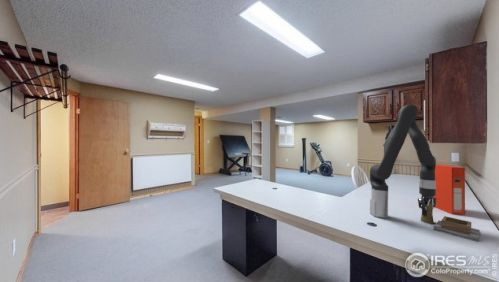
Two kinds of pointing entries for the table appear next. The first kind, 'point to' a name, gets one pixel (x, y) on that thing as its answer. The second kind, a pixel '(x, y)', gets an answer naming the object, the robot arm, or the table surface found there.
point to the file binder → (450, 189)
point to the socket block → (457, 228)
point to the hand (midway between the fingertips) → (427, 214)
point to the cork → (428, 215)
